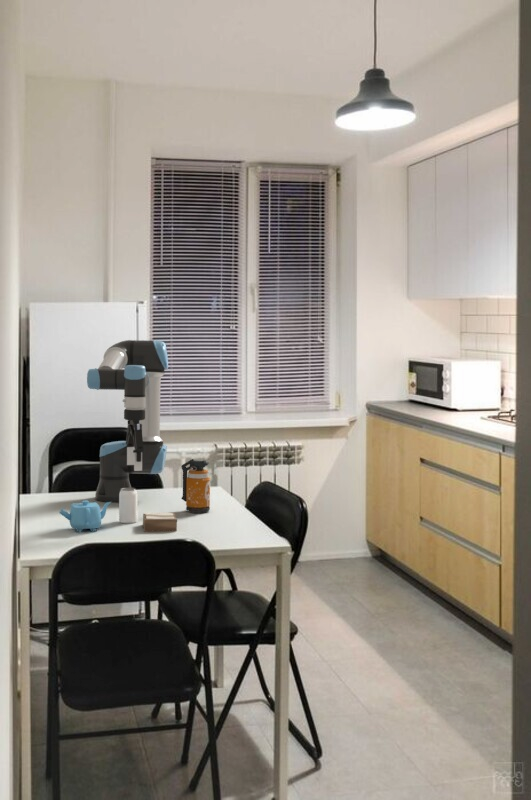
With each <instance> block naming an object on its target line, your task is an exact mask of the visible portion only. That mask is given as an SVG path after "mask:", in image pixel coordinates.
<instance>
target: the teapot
mask: <svg viewBox="0 0 531 800" xmlns="http://www.w3.org/2000/svg"><path fill="white" fill-rule="evenodd" d="M112 503H113V502H105V503H104V505H103V507H102V510H101V507H100V505H99V504H98V502H96V501H94V502H89V500H82V501H81V502H78V503H76V502H75V503H71V504H70V511H69V512H67V511H66V510H65V509H63V508H62V509H60V511H59V512H58V513H59V515H62V516H63V517H64V518H65V519H67V520H68V521H69V525H70V528H71V529H72V530H76V531H75V532H76V533H82V532H83V530H87V529H90V532H97V531H98V530H97V529H100V528H101V527H102V520H103V519H104V518H105V516H106V512H107V509H108V506H109V505H110V504H112Z"/></svg>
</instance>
